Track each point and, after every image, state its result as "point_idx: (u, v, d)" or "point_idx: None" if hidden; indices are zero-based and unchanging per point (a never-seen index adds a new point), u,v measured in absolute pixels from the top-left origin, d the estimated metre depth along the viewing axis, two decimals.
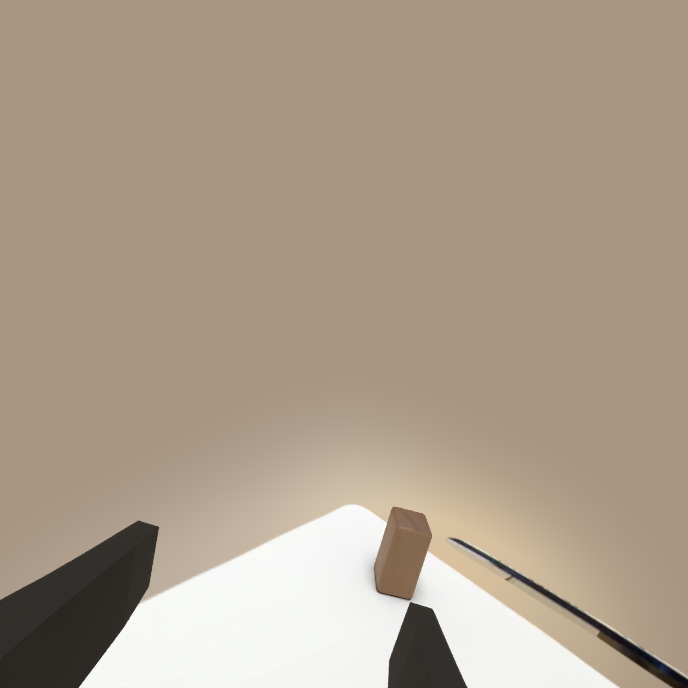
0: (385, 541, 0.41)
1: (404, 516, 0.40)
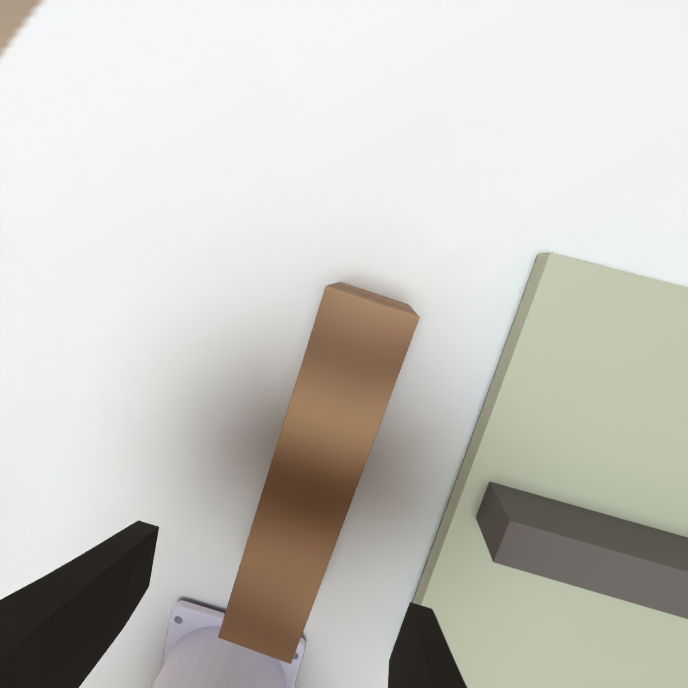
0: None
1: None
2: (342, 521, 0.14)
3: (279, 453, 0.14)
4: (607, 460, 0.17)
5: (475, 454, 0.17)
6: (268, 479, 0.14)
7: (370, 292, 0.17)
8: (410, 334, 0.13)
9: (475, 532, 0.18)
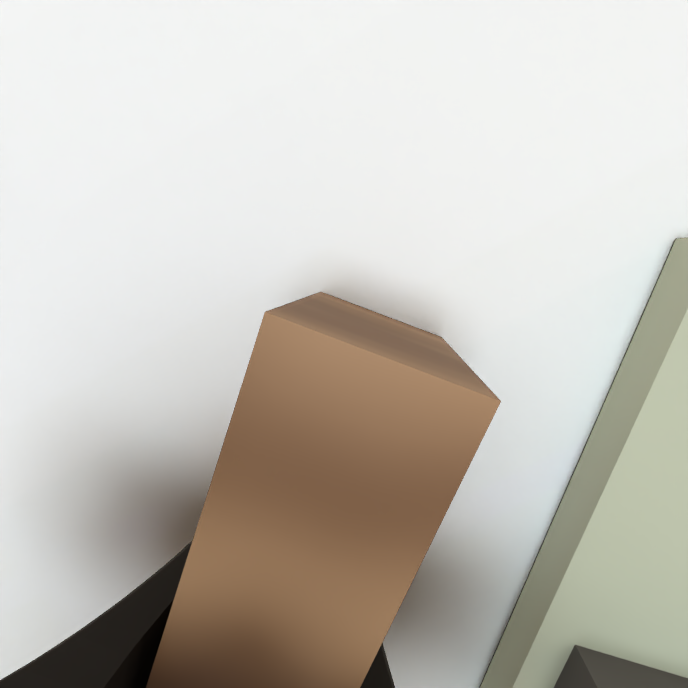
0: None
1: None
2: None
3: (162, 670, 0.06)
4: None
5: (551, 598, 0.10)
6: None
7: (374, 313, 0.09)
8: (473, 440, 0.05)
9: None
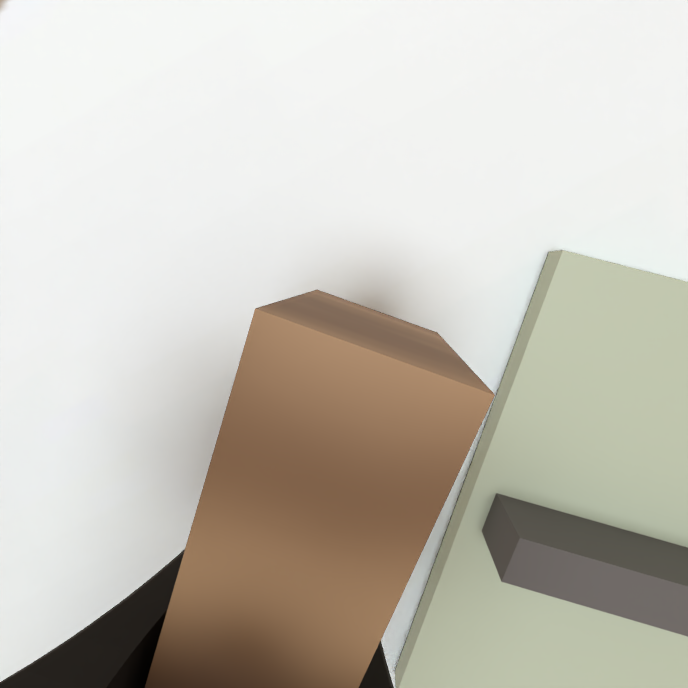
0: None
1: None
2: None
3: (160, 671, 0.06)
4: (622, 471, 0.16)
5: (481, 464, 0.16)
6: None
7: (370, 310, 0.09)
8: (468, 435, 0.05)
9: (481, 546, 0.17)
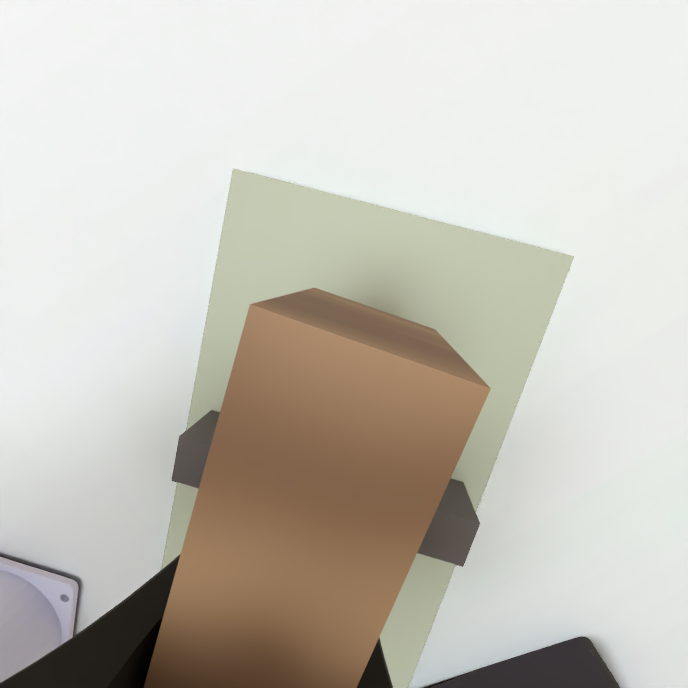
0: None
1: None
2: None
3: (159, 670, 0.06)
4: None
5: (195, 382, 0.17)
6: None
7: (367, 307, 0.09)
8: (465, 429, 0.05)
9: None
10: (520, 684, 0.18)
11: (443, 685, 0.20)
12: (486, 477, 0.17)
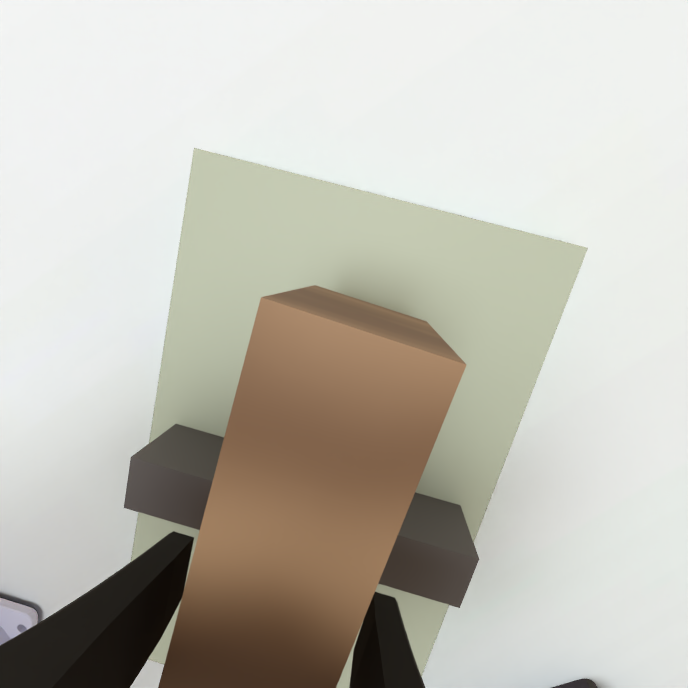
0: None
1: None
2: None
3: (185, 622, 0.07)
4: None
5: (157, 392, 0.15)
6: (168, 665, 0.08)
7: (363, 302, 0.10)
8: (445, 400, 0.06)
9: None
10: None
11: None
12: (486, 500, 0.15)
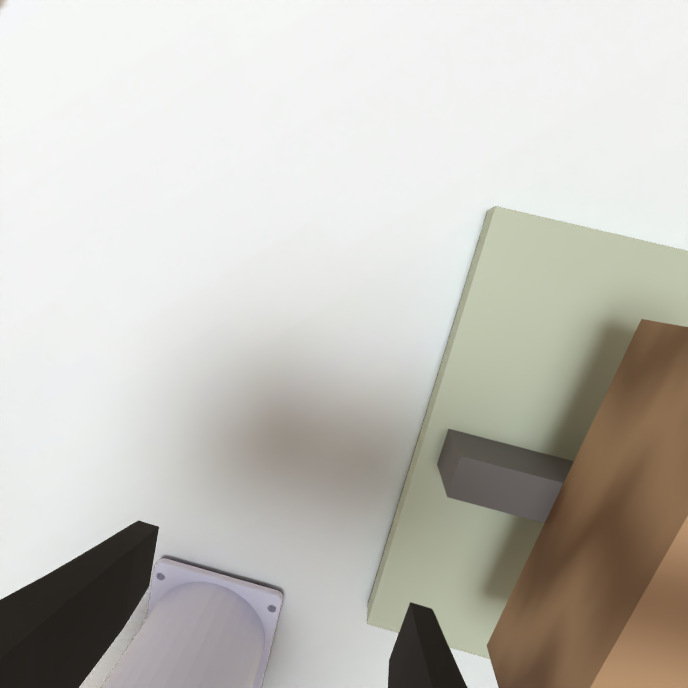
0: None
1: None
2: None
3: (667, 567, 0.10)
4: (558, 404, 0.18)
5: (434, 403, 0.18)
6: (642, 600, 0.11)
7: None
8: None
9: (437, 479, 0.19)
10: None
11: None
12: None
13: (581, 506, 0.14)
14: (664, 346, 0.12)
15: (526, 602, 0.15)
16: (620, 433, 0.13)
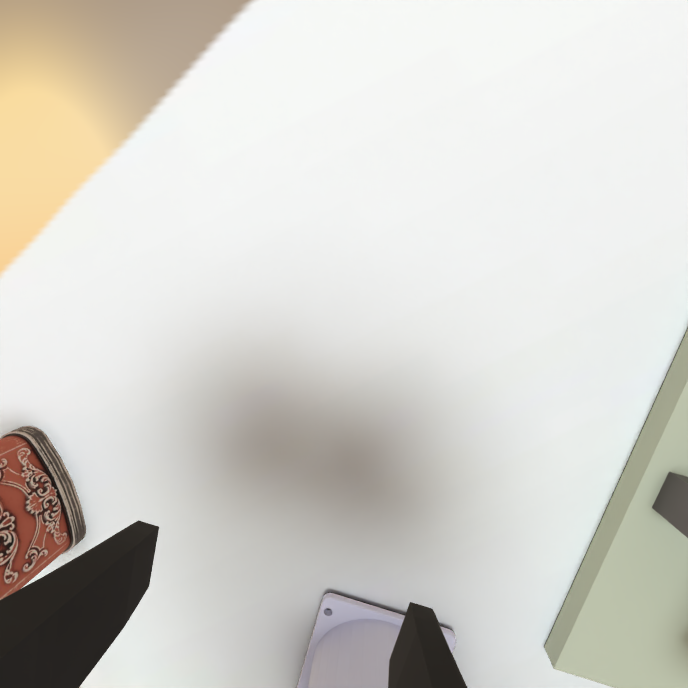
0: None
1: None
2: None
3: None
4: None
5: (655, 444, 0.18)
6: None
7: None
8: None
9: (650, 522, 0.18)
10: None
11: None
12: None
13: None
14: None
15: None
16: None
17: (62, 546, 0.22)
